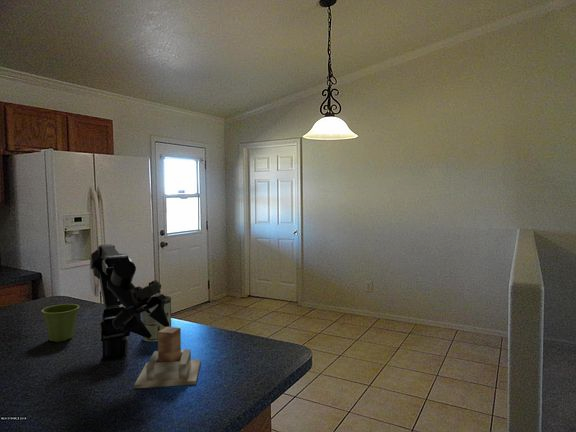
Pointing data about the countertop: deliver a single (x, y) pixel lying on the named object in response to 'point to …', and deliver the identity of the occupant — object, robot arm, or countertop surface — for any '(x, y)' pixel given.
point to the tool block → (169, 372)
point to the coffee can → (153, 324)
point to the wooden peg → (169, 345)
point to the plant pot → (60, 321)
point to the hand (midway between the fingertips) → (159, 331)
